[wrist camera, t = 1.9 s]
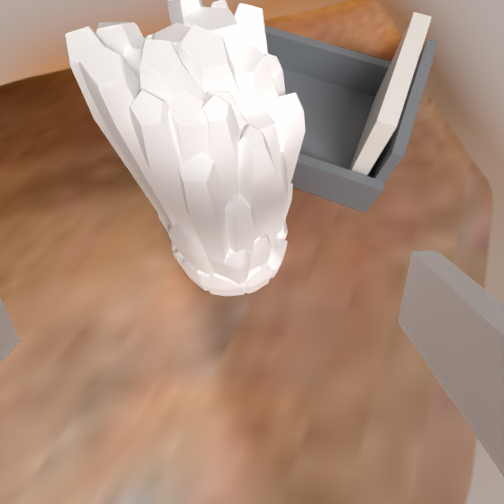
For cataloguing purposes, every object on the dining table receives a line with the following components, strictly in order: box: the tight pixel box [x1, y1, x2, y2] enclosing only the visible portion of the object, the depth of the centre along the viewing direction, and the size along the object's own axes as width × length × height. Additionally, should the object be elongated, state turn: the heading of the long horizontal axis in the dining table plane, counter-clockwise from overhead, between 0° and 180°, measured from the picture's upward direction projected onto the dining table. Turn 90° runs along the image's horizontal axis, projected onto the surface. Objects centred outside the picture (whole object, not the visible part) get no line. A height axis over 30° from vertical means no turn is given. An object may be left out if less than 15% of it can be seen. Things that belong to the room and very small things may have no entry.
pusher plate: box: [349, 12, 431, 176], centre depth 32 cm, size 2×13×10 cm, turn 158°
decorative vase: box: [65, 0, 305, 296], centre depth 22 cm, size 11×11×25 cm
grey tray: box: [265, 26, 438, 213], centre depth 35 cm, size 24×16×9 cm, turn 68°
